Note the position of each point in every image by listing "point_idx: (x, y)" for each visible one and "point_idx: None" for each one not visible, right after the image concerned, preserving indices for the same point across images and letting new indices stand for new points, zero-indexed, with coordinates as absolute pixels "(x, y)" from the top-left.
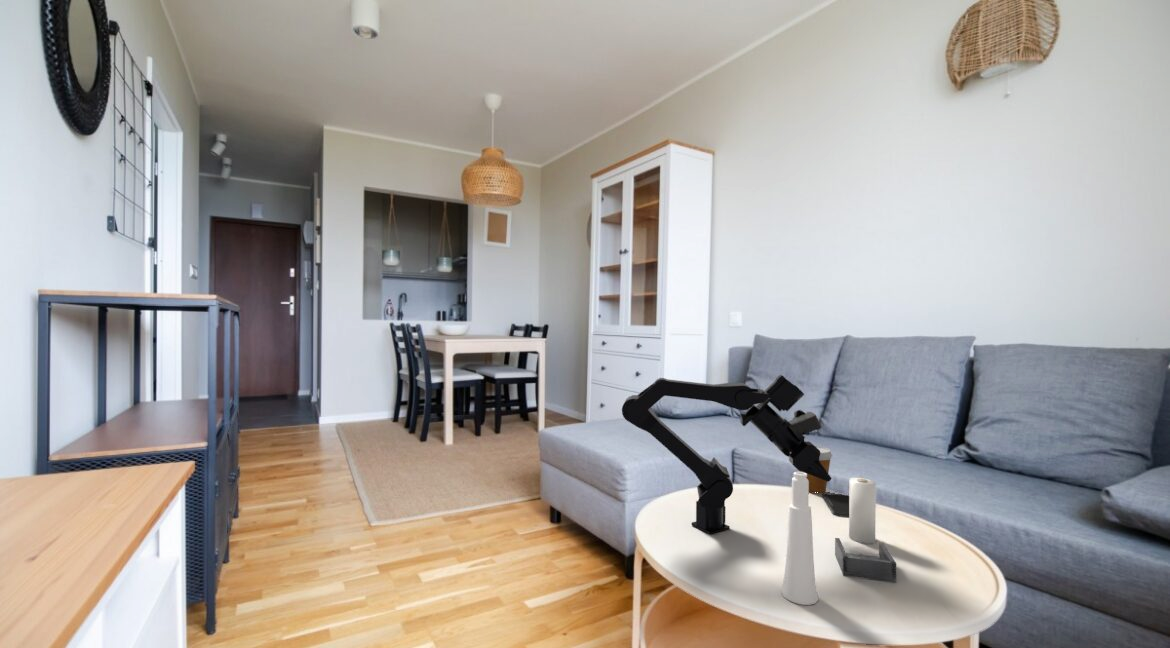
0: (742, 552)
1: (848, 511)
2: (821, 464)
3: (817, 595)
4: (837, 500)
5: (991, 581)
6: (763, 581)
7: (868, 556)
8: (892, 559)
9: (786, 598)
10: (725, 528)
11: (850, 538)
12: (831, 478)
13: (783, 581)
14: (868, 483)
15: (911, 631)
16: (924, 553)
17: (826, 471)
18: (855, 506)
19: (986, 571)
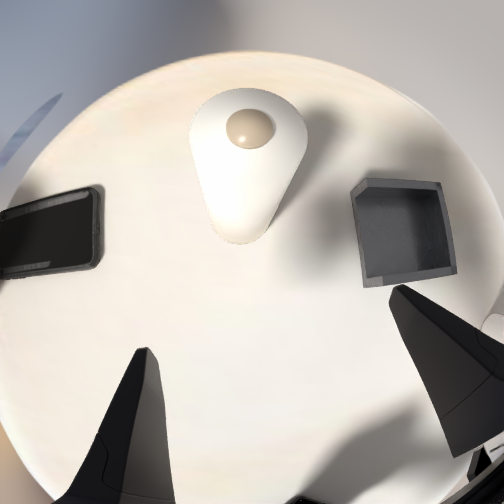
0: (400, 448)
1: (75, 227)
2: (496, 341)
3: (497, 314)
4: (19, 246)
5: (339, 67)
6: None
7: (365, 219)
8: (429, 183)
9: None
10: (312, 501)
11: (250, 242)
12: (403, 284)
13: None
14: (277, 113)
15: (499, 213)
16: None
17: (448, 311)
18: (278, 203)
19: (306, 59)
